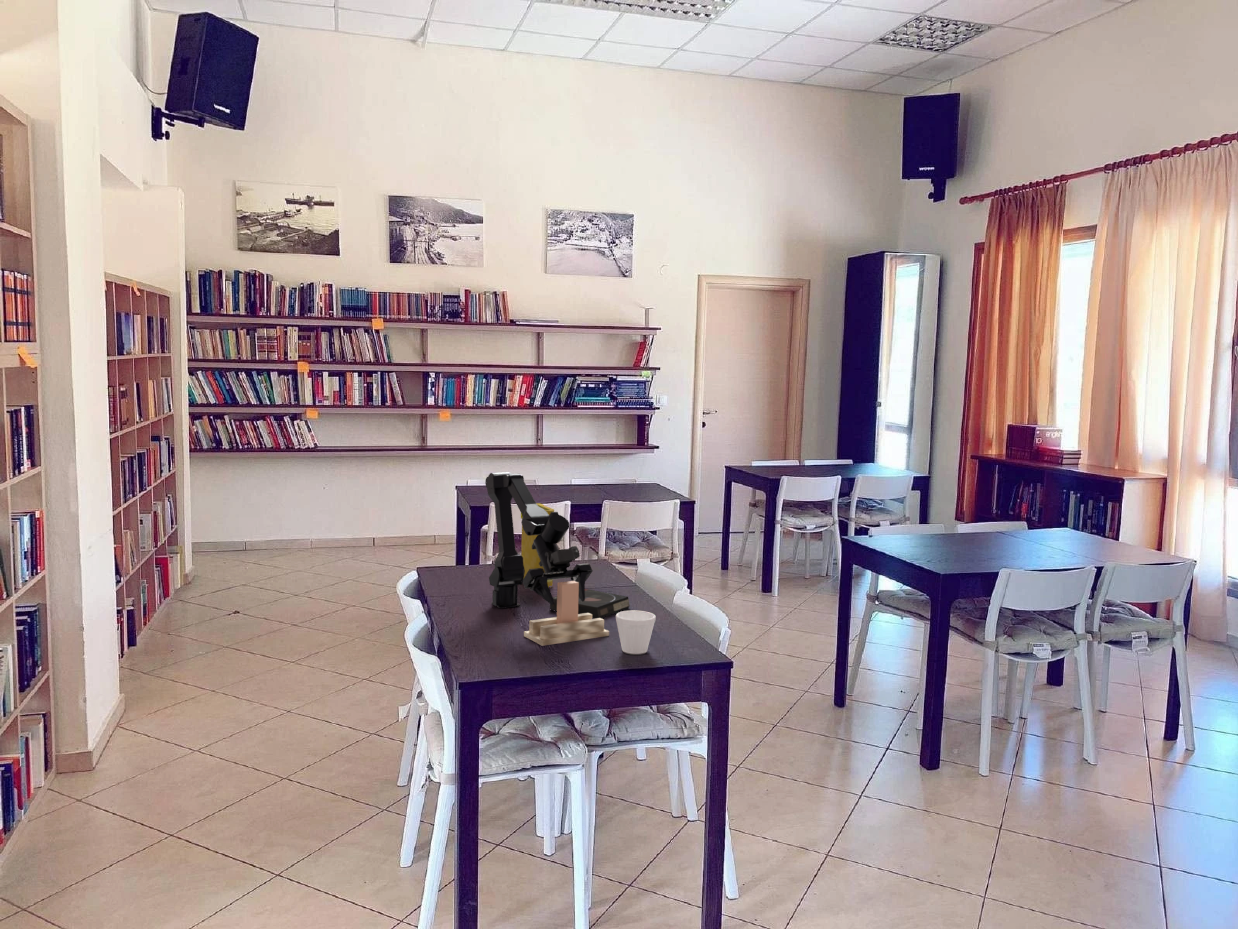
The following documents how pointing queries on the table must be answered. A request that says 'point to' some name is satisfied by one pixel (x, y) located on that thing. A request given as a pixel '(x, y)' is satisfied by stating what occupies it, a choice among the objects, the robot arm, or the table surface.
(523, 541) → the book
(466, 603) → the table surface
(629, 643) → the cup
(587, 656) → the table surface
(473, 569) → the table surface
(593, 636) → the rack
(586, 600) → the portable cd player
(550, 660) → the table surface
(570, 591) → the tile
